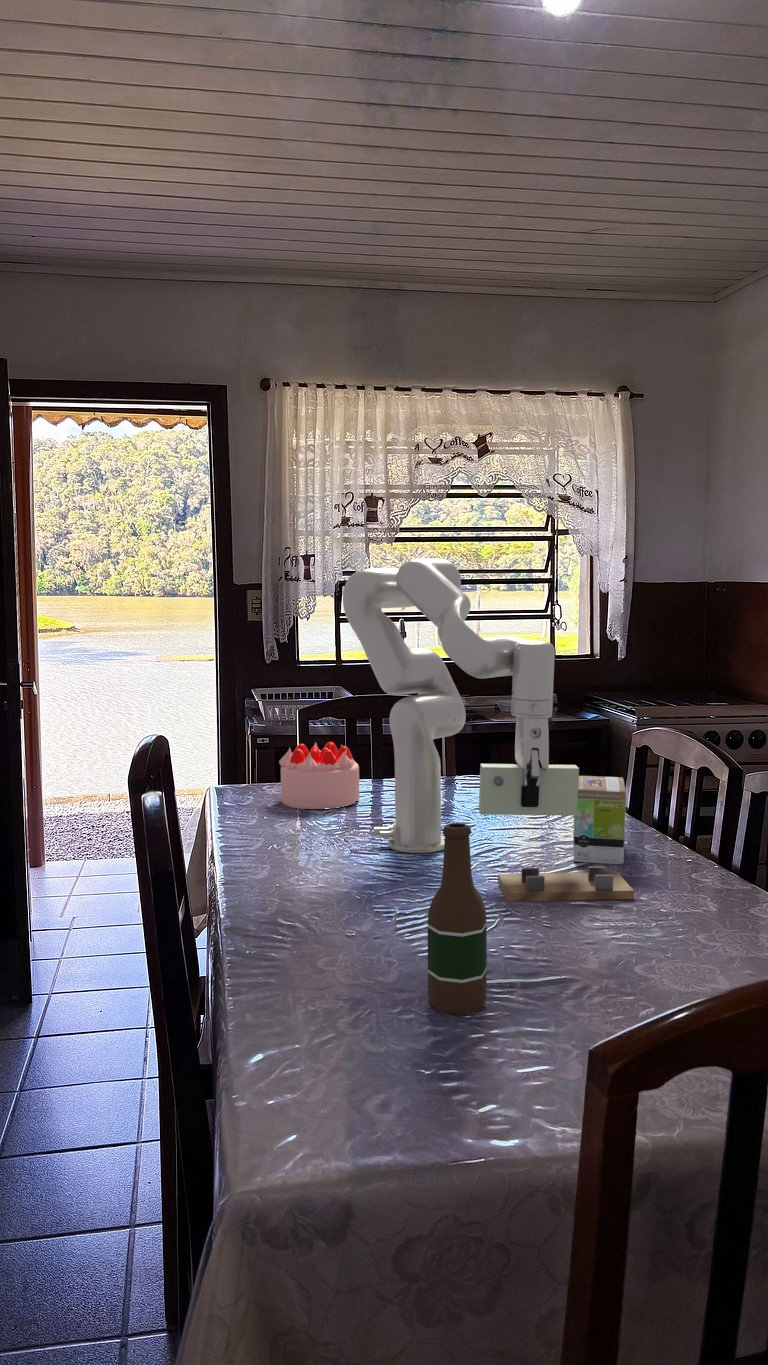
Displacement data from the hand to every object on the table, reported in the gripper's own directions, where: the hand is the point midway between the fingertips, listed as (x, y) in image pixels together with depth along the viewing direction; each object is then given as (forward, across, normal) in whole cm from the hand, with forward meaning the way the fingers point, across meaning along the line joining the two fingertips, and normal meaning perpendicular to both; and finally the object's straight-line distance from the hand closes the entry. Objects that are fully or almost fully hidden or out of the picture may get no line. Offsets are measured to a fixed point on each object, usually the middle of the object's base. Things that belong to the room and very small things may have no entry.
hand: (527, 803), depth 185 cm
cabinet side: (+13, -11, -5) cm, 18 cm away
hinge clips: (+11, -13, -5) cm, 18 cm away
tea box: (+14, +12, -17) cm, 25 cm away
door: (+2, 0, 0) cm, 2 cm away
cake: (+17, +63, +41) cm, 77 cm away
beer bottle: (+13, -57, +19) cm, 61 cm away
